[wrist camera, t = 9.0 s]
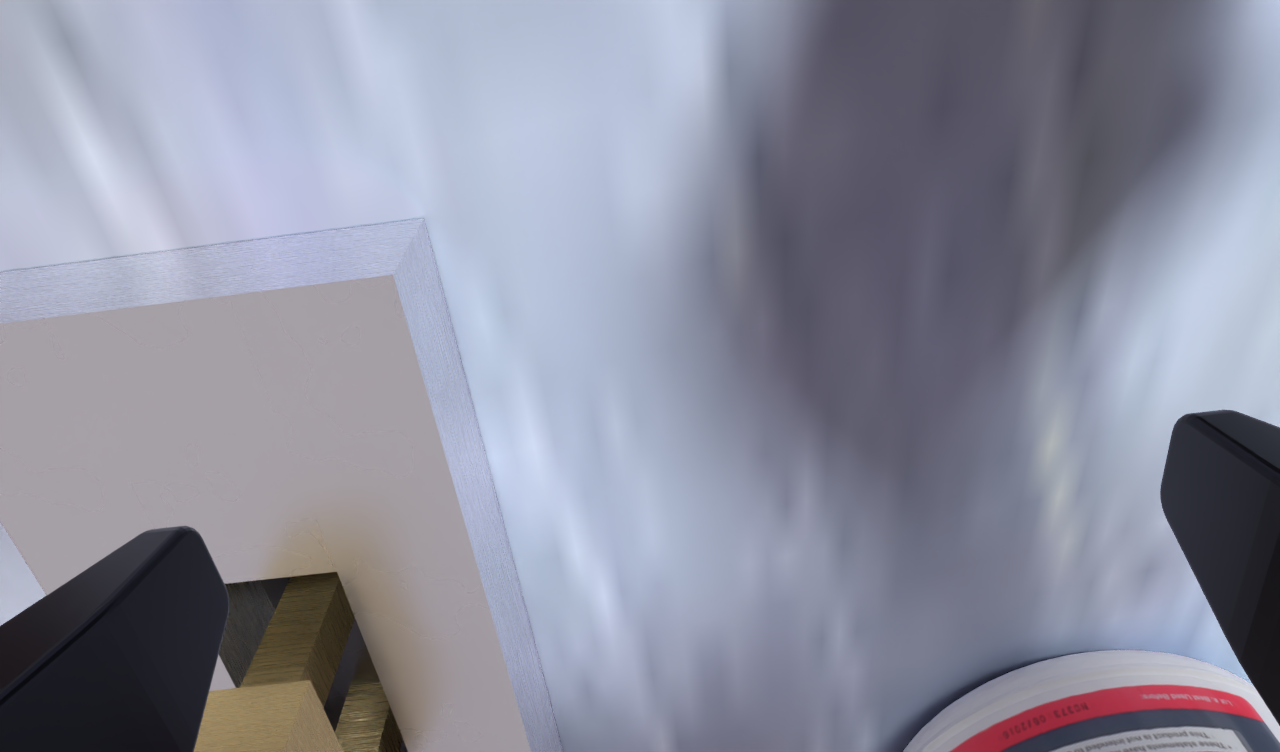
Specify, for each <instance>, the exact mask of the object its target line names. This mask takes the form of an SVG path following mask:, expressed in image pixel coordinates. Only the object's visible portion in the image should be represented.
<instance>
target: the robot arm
mask: <svg viewBox="0 0 1280 752" xmlns="http://www.w3.org/2000/svg"><path fill="white" fill-rule="evenodd" d="M1160 492H1161V503H1162V508H1163V511H1164V514H1165V516H1166V519H1167V521H1168V523H1169V525H1170V527H1171V529H1172V531H1173V533H1174V535H1175V537H1176V539H1177V541H1178V543H1179V545H1180V547H1181V549H1182V551H1183V553H1184V555H1185V557H1186V559H1187V561H1188V563H1189V565H1190V567H1191V569H1192V571H1193V573H1194V575H1195V577H1196V579H1197V581H1198V583H1199V585H1200V587H1201V589H1202V591H1203V593H1204V595H1205V597H1206V599H1207V601H1208V603H1209V605H1210V607H1211V609H1212V611H1213V613H1214V615H1215V617H1216V619H1217V621H1218V623H1219V625H1220V627H1221V629H1222V631H1223V633H1224V635H1225V637H1226V638H1227V640H1228V642H1229V644H1230V646H1231V648H1232V650H1233V651H1234V653H1235V655H1236V657H1237V659H1238V661H1239V662H1240V664H1241V666H1242V667H1243V669H1244V671H1245V672H1246V674H1247V675H1248V677H1249V679H1250V680H1251V682H1252V684H1253V685H1254V687H1255V689H1256V690H1257V692H1258V693H1259V695H1260V696H1261V698H1262V699H1263V701H1264V702H1265V704H1266V706H1267V707H1268V709H1269V710H1270V712H1271V713H1272V715H1273V716H1274V718H1275V720H1276V721H1277V723H1278V724H1279V726H1280V428H1279V427H1277V426H1274V425H1271V424H1269V423H1266V422H1263V421H1261V420H1258V419H1255V418H1253V417H1250V416H1247V415H1245V414H1242V413H1239V412H1236V411H1233V410H1218V411H1209V412H1200V413H1191V414H1186V415H1184V416H1182V417H1181V418H1180V419H1178V421H1177V422H1176V424H1175V425H1174V428H1173V431H1172V436H1171V440H1170V445H1169V450H1168V455H1167V459H1166V464H1165V469H1164V474H1163V478H1162V483H1161V491H1160ZM228 614H229V596H228V592H227V589H226V586H225V584H224V582H223V580H222V578H221V575H220V573H219V571H218V569H217V567H216V565H215V563H214V561H213V559H212V557H211V555H210V553H209V551H208V549H207V547H206V544H205V542H204V540H203V538H202V537H201V535H200V533H199V532H197V531H196V530H195V529H194V528H192V527H189V526H177V527H167V528H158V529H151V530H147V531H144V532H143V533H141V534H139V535H138V536H136V537H135V538H133V539H132V540H130V541H129V542H127V543H126V544H124V545H123V546H121V547H119V548H118V549H116V550H115V551H113V552H112V553H110V554H109V555H107V556H106V557H104V558H103V559H101V560H100V561H98V562H97V563H95V564H94V565H92V566H91V567H89V568H88V569H86V570H85V571H83V572H82V573H80V574H79V575H77V576H76V577H74V578H72V579H71V580H69V581H68V582H66V583H65V584H63V585H62V586H60V587H59V588H57V589H56V590H54V591H53V592H51V593H50V594H48V595H47V596H45V597H44V598H42V599H41V600H39V601H38V602H36V603H35V604H33V605H32V606H30V607H29V608H27V609H25V610H24V611H22V612H21V613H19V614H18V615H16V616H15V617H13V618H12V619H10V620H9V621H7V622H6V623H4V624H3V625H1V626H0V752H194V748H195V745H196V741H197V738H198V734H199V730H200V726H201V722H202V718H203V714H204V710H205V706H206V702H207V698H208V694H209V690H210V686H211V682H212V678H213V674H214V671H215V667H216V663H217V659H218V655H219V651H220V647H221V643H222V639H223V635H224V631H225V627H226V623H227V619H228Z"/></svg>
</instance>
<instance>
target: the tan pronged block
mask: <svg viewBox="0 0 1280 752" xmlns="http://www.w3.org/2000/svg"><path fill="white" fill-rule="evenodd" d="M354 620H355V616H354V614H353V611H352V609H351V606H350V604H349V601H348V599H347V596H346V593H345V591H344V588H343V586H342V583H341V581H340V578H339V576H338V573H337V572H329V573H320V574H311V575H302V576H292V577H290V580H289V582H288V584H287V586H286V588H285V590H284V593H283V595H282V597H281V599H280V601H279V603H278V606H277V608H276V610H275V612H274V614H273V617H272V619H271V621H270V623H269V625H268V627H267V630H266V632H265V634H264V636H263V638H262V640H261V643H260V645H259V647H258V649H257V651H256V653H255V656H254V658H253V660H252V662H251V664H250V667H249V669H248V671H247V673H246V675H245V677H244V680H243V682H242V684H241V686H240V688H232V689H223V690H214V691H209V694H208V698H207V702H206V706H205V710H204V714H203V718H202V722H201V726H200V730H199V734H198V738H197V741H196V745H195V748H194V752H400V748H401V744H402V740H403V738H402V735H401V732H400V730H399V727H398V725H397V722H396V720H395V717H394V715H393V712H392V710H391V707H390V705H389V702H388V700H387V697H386V695H385V692H384V690H383V687H382V684H381V683H373V684H364V685H354V686H350V688H349V691H348V694H347V697H346V700H345V703H344V706H343V709H342V712H341V715H340V718H339V722H338V725H337V728H336V731H335V732H334V730H333V728H332V726H331V724H330V721H329V719H328V717H327V715H326V713H325V711H324V706H325V703H326V700H327V697H328V694H329V691H330V689H331V686H332V683H333V680H334V677H335V674H336V671H337V669H338V666H339V663H340V660H341V657H342V654H343V652H344V649H345V646H346V643H347V640H348V637H349V634H350V632H351V629H352V626H353V623H354Z"/></svg>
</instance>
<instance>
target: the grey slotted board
mask: <svg viewBox="0 0 1280 752" xmlns="http://www.w3.org/2000/svg"><path fill="white" fill-rule="evenodd" d="M0 522H1V523H2V525H3V526H4V528H5V530H6V531H7V533H8V534H9V536H10V538H11V539H12V541H13V543H14V544H15V546H16V547H17V549H18V551H19V552H20V554H21V555H22V557H23V559H24V560H25V562H26V563H27V565H28V567H29V568H30V570H31V571H32V573H33V575H34V576H35V578H36V579H37V581H38V583H39V584H40V586H41V587H42V589H43V591H44V592H45V594H46V595H48V594H50V593H51V592H53V591H54V590H56V589H57V588H59V587H60V586H62V585H63V584H65V583H66V582H68V581H69V580H71V579H72V578H74V577H76V576H77V575H79V574H80V573H82V572H83V571H85V570H86V569H88V568H89V567H91V566H92V565H94V564H95V563H97V562H98V561H100V560H101V559H103V558H104V557H106V556H107V555H109V554H110V553H112V552H113V551H115V550H116V549H118V548H119V547H121V546H123V545H124V544H126V543H127V542H129V541H130V540H132V539H133V538H135V537H136V536H138V535H139V534H141V533H143V532H144V531H147V530H151V529H158V528H167V527H177V526H189V527H192V528H194V529H195V530H196V531H197V532H199V533H200V535H201V537H202V538H203V540H204V542H205V544H206V547H207V549H208V551H209V553H210V555H211V557H212V559H213V561H214V563H215V565H216V567H217V569H218V571H219V573H220V575H221V578H222V580H223V582H224V584H225V586H226V589H227V592H228V596H229V614H228V619H227V623H226V627H225V631H224V635H223V639H222V643H221V647H220V651H219V655H218V659H217V663H216V667H215V671H214V674H213V678H212V682H211V686H210V690H209V691H214V690H223V689H232V688H240V686H241V684H242V682H243V680H244V677H245V675H246V673H247V671H248V669H249V667H250V664H251V662H252V660H253V658H254V656H255V653H256V651H257V649H258V647H259V645H260V643H261V640H262V638H263V636H264V634H265V632H266V630H267V627H268V625H269V623H270V621H271V619H272V617H273V614H274V612H275V610H276V608H277V606H278V603H279V601H280V599H281V597H282V595H283V593H284V590H285V588H286V586H287V584H288V582H289V580H290V577H292V576H302V575H311V574H320V573H329V572H337V573H338V576H339V578H340V581H341V583H342V586H343V588H344V591H345V593H346V596H347V599H348V601H349V604H350V606H351V609H352V611H353V614H354V616H355V620H354V623H353V626H352V629H351V632H350V634H349V637H348V640H347V643H346V646H345V649H344V652H343V654H342V657H341V660H340V663H339V666H338V669H337V671H336V674H335V677H334V680H333V683H332V686H331V689H330V691H329V694H328V697H327V700H326V703H325V706H324V711H325V713H326V715H327V717H328V719H329V721H330V724H331V726H332V728H333V730H334V732H335V731H336V728H337V725H338V722H339V718H340V715H341V712H342V709H343V706H344V703H345V700H346V697H347V694H348V691H349V688H350V686H354V685H364V684H373V683H381V684H382V687H383V690H384V692H385V695H386V697H387V700H388V702H389V705H390V707H391V710H392V712H393V715H394V717H395V720H396V722H397V725H398V727H399V730H400V732H401V735H402V738H403V740H402V744H401V748H400V752H563V749H562V745H561V741H560V737H559V734H558V730H557V726H556V722H555V718H554V715H553V711H552V707H551V703H550V699H549V695H548V692H547V688H546V684H545V680H544V676H543V672H542V669H541V665H540V661H539V657H538V653H537V649H536V646H535V642H534V638H533V634H532V630H531V626H530V623H529V619H528V615H527V611H526V607H525V603H524V600H523V596H522V592H521V588H520V584H519V580H518V577H517V573H516V569H515V565H514V561H513V558H512V554H511V550H510V546H509V542H508V538H507V535H506V531H505V527H504V523H503V519H502V515H501V512H500V508H499V504H498V500H497V496H496V492H495V489H494V485H493V481H492V477H491V473H490V469H489V466H488V462H487V458H486V454H485V450H484V446H483V443H482V439H481V435H480V431H479V427H478V423H477V420H476V416H475V412H474V408H473V404H472V401H471V397H470V393H469V389H468V385H467V381H466V378H465V374H464V370H463V366H462V362H461V358H460V355H459V351H458V347H457V343H456V339H455V335H454V332H453V328H452V324H451V320H450V316H449V312H448V309H447V305H446V301H445V297H444V293H443V289H442V286H441V282H440V278H439V274H438V270H437V267H436V263H435V259H434V255H433V251H432V247H431V244H430V240H429V236H428V232H427V228H426V224H425V221H424V218H422V219H415V220H407V221H399V222H391V223H383V224H375V225H368V226H360V227H352V228H344V229H336V230H328V231H321V232H313V233H305V234H297V235H289V236H281V237H274V238H266V239H258V240H250V241H242V242H234V243H227V244H219V245H211V246H203V247H195V248H188V249H180V250H172V251H164V252H156V253H148V254H141V255H133V256H125V257H117V258H109V259H101V260H94V261H86V262H78V263H70V264H62V265H54V266H47V267H39V268H31V269H23V270H15V271H7V272H0Z"/></svg>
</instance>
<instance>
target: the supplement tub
mask: <svg viewBox="0 0 1280 752" xmlns="http://www.w3.org/2000/svg"><path fill="white" fill-rule="evenodd" d="M903 752H1280V726H1279V724H1278V723H1277V721H1276V720H1275V718H1274V716H1273V715H1272V713H1271V712H1270V710H1269V709H1268V707H1267V706H1266V704H1265V702H1264V701H1263V699H1262V698H1261V696H1260V695H1259V693H1258V692H1257V690H1256V689H1255V687H1254V686H1253V685H1252V684H1250V683H1248V682H1247V681H1245V680H1243V679H1242V678H1240V677H1238V676H1236V675H1235V674H1233V673H1231V672H1229V671H1227V670H1224V669H1222V668H1219V667H1217V666H1215V665H1212V664H1210V663H1207V662H1203V661H1200V660H1196V659H1193V658H1190V657H1186V656H1181V655H1176V654H1170V653H1165V652H1154V651H1143V650H1106V651H1093V652H1085V653H1079V654H1072V655H1066V656H1061V657H1057V658H1053V659H1049V660H1045V661H1041V662H1037V663H1034V664H1031V665H1028V666H1025V667H1022V668H1019V669H1017V670H1014V671H1011V672H1009V673H1007V674H1004V675H1002V676H1000V677H998V678H995V679H993V680H991V681H989V682H987V683H985V684H983V685H981V686H979V687H978V688H976V689H974V690H973V691H971V692H969V693H968V694H966V695H964V696H963V697H961V698H960V699H958V700H956V701H955V702H953V703H952V704H950V705H949V706H948V707H946V708H945V709H943V710H942V711H941V712H940V713H939V714H938V715H937V716H935V717H934V718H933V719H932V720H931V721H930V722H929V723H927V724H926V725H925V726H924V727H923V728H922V729H921V730H920V731H919V732H918V734H917V735H916V736H915V737H914V738H913V739H912V740H911V742H910V743H909V744H908V745H907V747H906V748H905V749H904V751H903Z"/></svg>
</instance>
